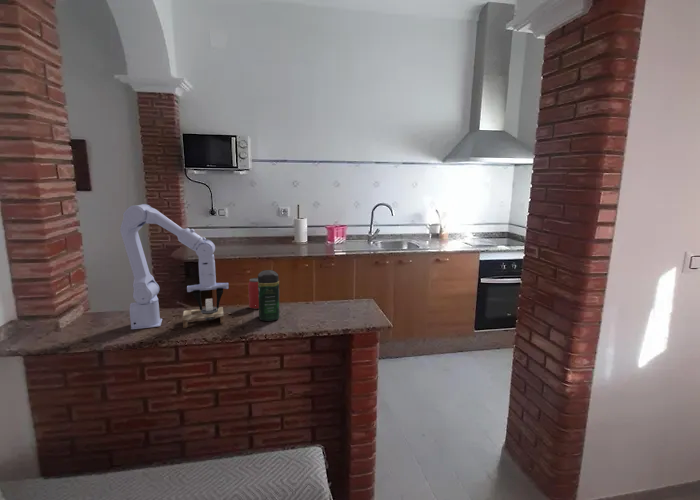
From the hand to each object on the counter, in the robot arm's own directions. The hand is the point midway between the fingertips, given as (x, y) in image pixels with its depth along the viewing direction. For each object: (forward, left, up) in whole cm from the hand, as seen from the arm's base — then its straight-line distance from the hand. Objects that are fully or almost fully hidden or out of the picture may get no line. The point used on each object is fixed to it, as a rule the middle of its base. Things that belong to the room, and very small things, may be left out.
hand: (209, 308), depth 147 cm
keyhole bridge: (-2, 0, -5) cm, 6 cm away
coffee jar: (+22, -3, -5) cm, 23 cm away
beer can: (+19, +12, -5) cm, 23 cm away
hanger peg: (0, 0, -4) cm, 4 cm away
